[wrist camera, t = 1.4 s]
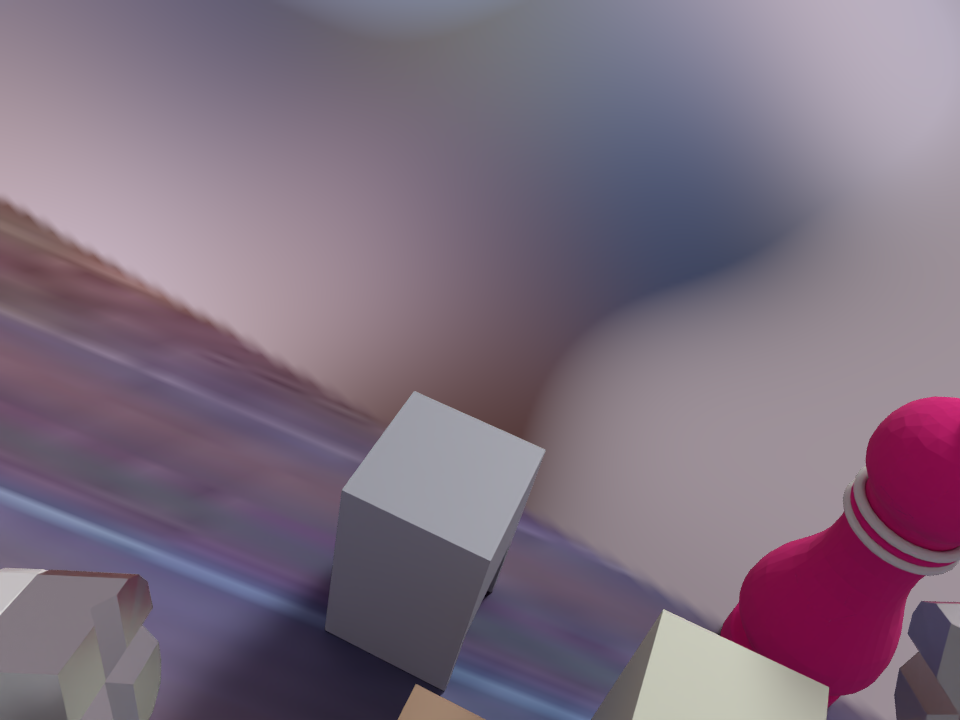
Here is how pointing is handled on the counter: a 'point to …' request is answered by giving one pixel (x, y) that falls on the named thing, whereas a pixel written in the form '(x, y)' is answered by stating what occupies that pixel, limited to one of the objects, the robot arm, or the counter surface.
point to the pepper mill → (861, 557)
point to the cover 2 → (707, 681)
